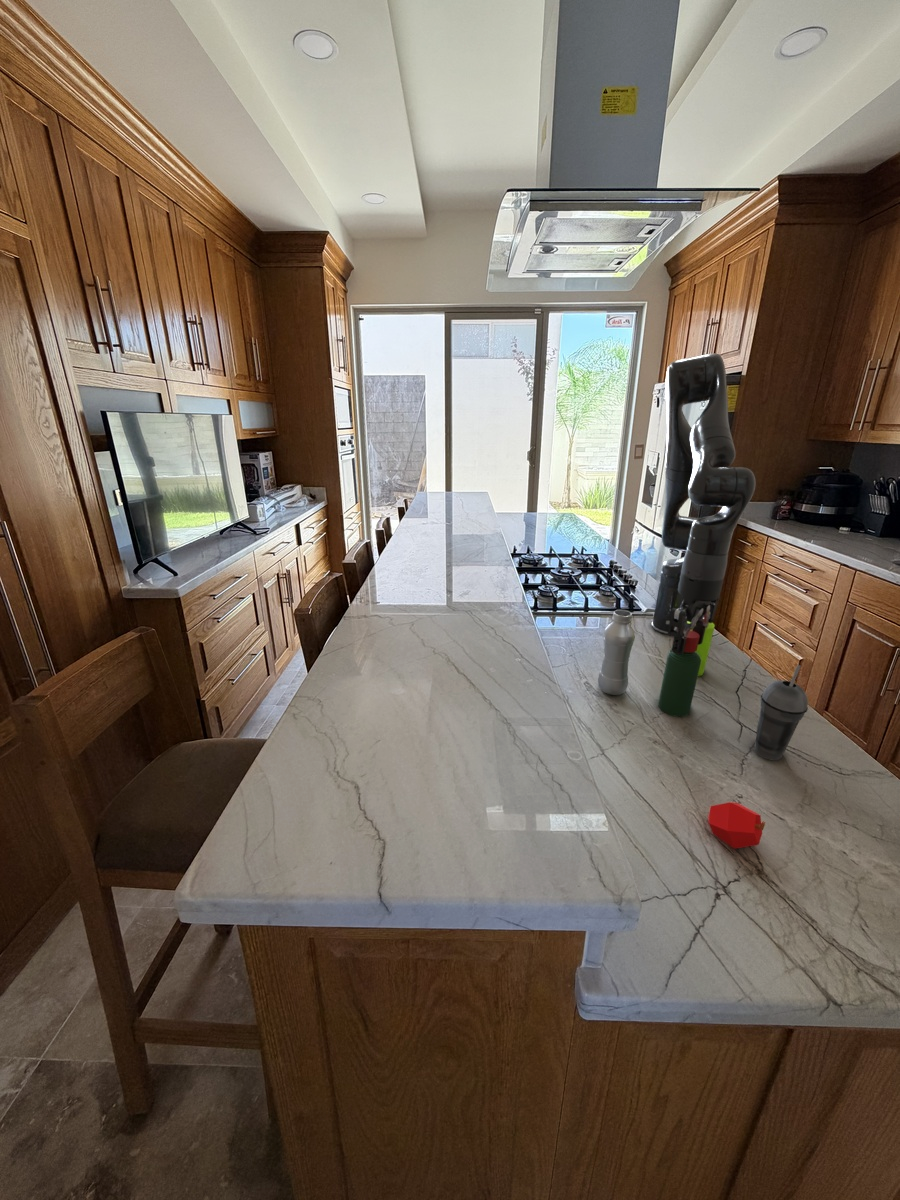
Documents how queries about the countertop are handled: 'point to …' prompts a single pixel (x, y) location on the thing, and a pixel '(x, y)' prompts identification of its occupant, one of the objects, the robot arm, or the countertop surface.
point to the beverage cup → (779, 716)
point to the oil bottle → (679, 683)
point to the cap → (691, 642)
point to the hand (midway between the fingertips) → (686, 647)
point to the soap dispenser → (704, 646)
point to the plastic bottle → (616, 654)
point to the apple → (736, 824)
